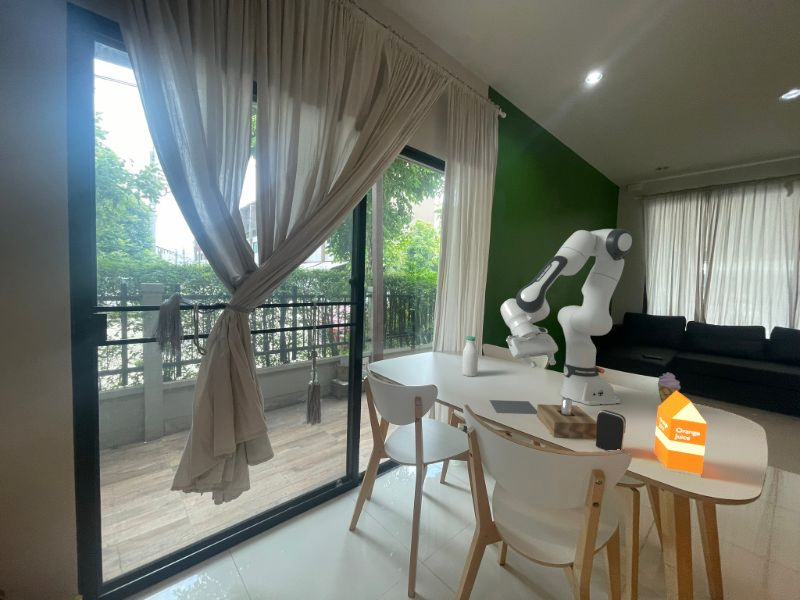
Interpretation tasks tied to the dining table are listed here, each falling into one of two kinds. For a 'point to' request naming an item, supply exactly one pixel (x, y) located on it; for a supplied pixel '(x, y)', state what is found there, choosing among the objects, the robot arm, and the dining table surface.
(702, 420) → the orange juice
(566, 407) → the pin
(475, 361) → the milk bottle
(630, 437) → the dining table surface
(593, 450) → the dining table surface
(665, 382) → the ice cream cone
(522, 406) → the mat
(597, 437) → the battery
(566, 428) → the socket block
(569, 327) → the robot arm
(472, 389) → the dining table surface
